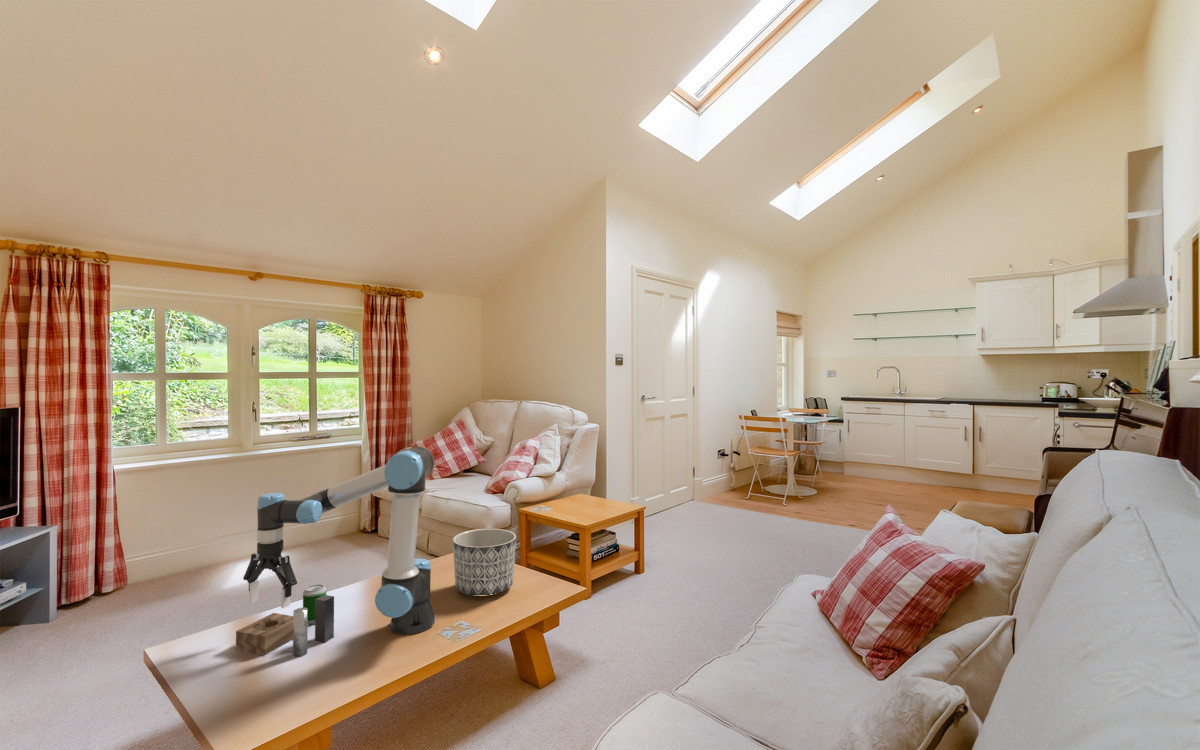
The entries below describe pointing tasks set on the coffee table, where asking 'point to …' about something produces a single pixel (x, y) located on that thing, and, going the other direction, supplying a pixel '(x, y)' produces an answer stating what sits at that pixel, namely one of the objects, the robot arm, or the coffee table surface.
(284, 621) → the bore block
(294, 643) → the cylinder
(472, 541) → the planter
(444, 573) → the coffee table surface
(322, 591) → the soda can
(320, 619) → the square bit
